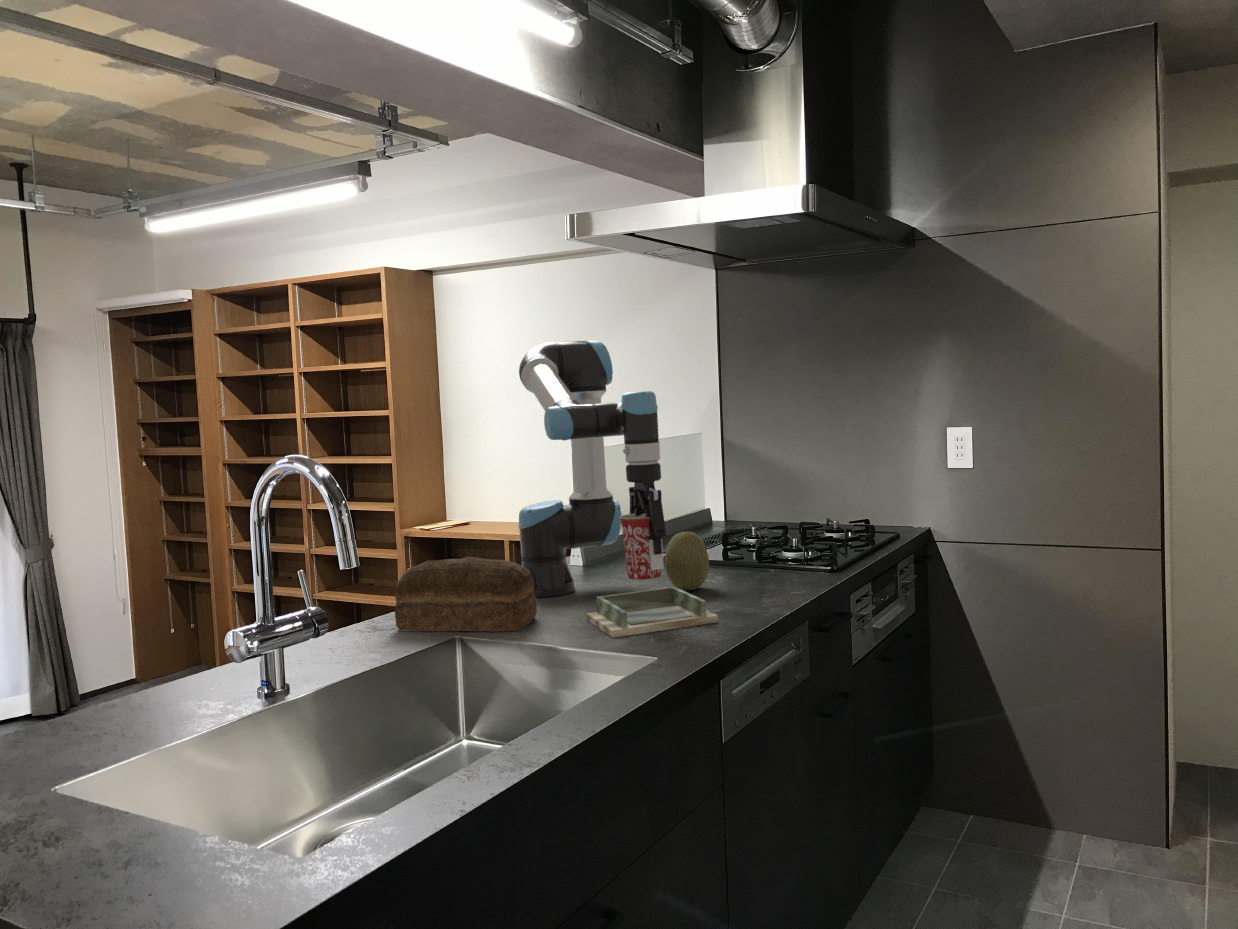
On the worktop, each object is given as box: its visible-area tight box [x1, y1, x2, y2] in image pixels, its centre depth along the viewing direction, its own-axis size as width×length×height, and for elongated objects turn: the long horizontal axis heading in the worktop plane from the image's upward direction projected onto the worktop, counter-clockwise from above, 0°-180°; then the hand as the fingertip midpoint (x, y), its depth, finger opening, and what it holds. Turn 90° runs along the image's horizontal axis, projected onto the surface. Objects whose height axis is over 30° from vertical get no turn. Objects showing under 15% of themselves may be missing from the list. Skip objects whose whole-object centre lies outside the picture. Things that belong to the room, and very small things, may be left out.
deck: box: [586, 586, 719, 638], centre depth 209 cm, size 18×24×5 cm
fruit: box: [664, 531, 710, 592], centre depth 240 cm, size 11×11×15 cm
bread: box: [394, 556, 538, 632], centre depth 216 cm, size 15×32×16 cm, turn 75°
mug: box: [620, 513, 664, 581], centre depth 208 cm, size 13×9×14 cm
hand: (649, 565), depth 208 cm, fingers closed on mug, 9 cm apart
